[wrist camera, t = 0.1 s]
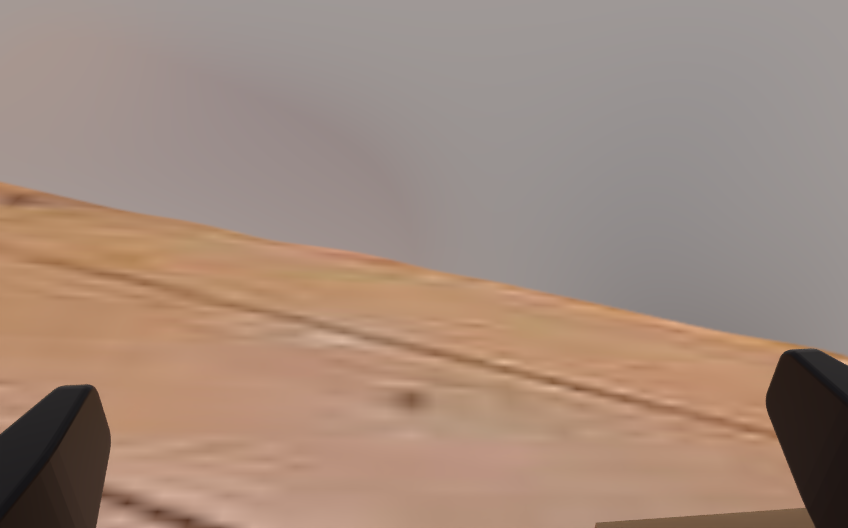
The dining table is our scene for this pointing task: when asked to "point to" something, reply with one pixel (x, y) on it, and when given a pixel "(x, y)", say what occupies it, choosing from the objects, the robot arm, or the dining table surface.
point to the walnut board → (724, 520)
